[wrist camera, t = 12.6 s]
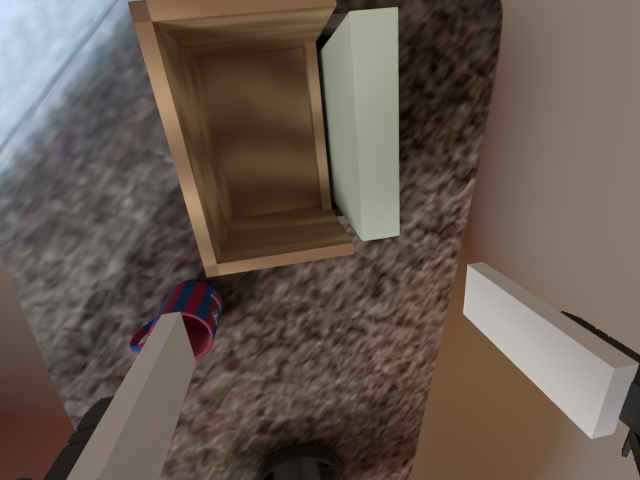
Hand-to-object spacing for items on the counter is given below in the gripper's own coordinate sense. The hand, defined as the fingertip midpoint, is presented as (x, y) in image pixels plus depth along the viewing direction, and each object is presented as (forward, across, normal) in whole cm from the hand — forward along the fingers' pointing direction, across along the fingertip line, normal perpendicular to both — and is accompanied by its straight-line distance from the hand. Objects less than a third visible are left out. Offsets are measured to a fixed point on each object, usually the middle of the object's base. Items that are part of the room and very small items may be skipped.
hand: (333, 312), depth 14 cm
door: (+24, +6, +7) cm, 25 cm away
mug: (+25, -16, -12) cm, 32 cm away
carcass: (+24, 0, +7) cm, 25 cm away
